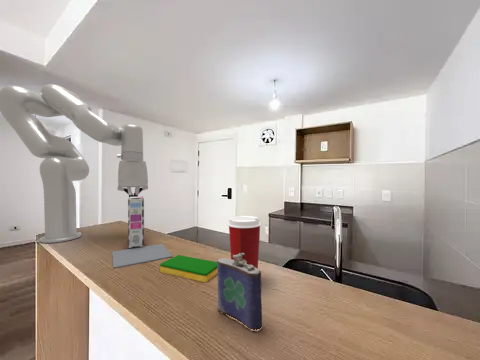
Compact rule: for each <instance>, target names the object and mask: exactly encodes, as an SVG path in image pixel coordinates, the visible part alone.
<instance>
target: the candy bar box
mask: <svg viewBox="0 0 480 360" xmlns="http://www.w3.org/2000/svg"><path fill="white" fill-rule="evenodd" d="M127 209H128V210H127V213H128V214H127V217H128V218H127V220H128V223H127V227H128V228H127V231H128V234H127V235H128V239H127V240H128V243H127V244H128V245H127V246H128V248H127V249H132V248H138V247H145V201H144V196H138V197H129V196H128V198H127Z"/></svg>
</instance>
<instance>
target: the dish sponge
mask: <svg viewBox="0 0 480 360" xmlns="http://www.w3.org/2000/svg"><path fill="white" fill-rule="evenodd" d="M159 267H160V268H159V269H160V271H159V272H160V273H163V274H167V275H172V276H176V277H180V278H185V279H188V280H194V281H197V282H202V283H208V282H209V281H210V280H211V279H213V278H214V277H215V276H216V275H218V268H217V261H215V260H208V259H203V258H197V257H192V256H186V255H182V254H177V255H175V256H174V257H173V256H172V257H170V258H168V259H166V260H165V261H163V262H160V263H159Z"/></svg>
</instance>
